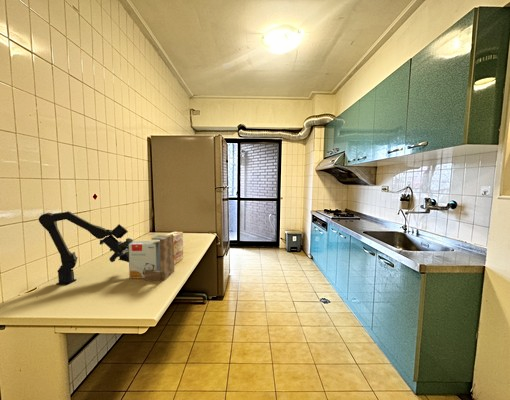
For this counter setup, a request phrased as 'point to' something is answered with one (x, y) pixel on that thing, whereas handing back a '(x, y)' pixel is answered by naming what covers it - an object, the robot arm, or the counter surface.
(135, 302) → the counter surface
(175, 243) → the coffeecake box
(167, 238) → the bracket
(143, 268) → the hard drive box
